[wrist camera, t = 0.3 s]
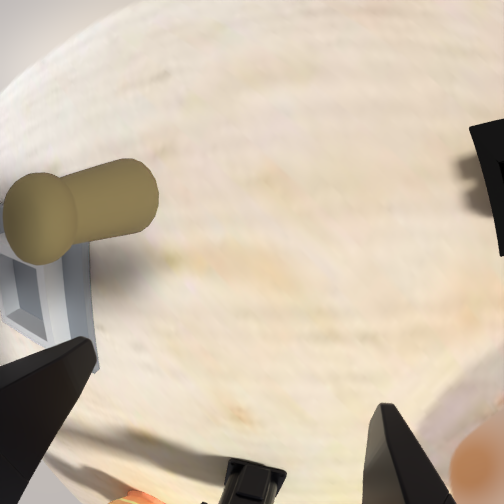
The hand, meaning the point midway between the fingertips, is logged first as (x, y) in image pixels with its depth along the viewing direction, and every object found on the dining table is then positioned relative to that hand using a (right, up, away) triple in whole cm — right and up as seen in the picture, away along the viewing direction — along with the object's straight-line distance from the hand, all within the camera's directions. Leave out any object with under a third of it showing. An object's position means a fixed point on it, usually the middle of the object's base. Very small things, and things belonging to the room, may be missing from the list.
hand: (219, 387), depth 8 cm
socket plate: (-22, 0, +20) cm, 30 cm away
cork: (-9, +8, +15) cm, 19 cm away
